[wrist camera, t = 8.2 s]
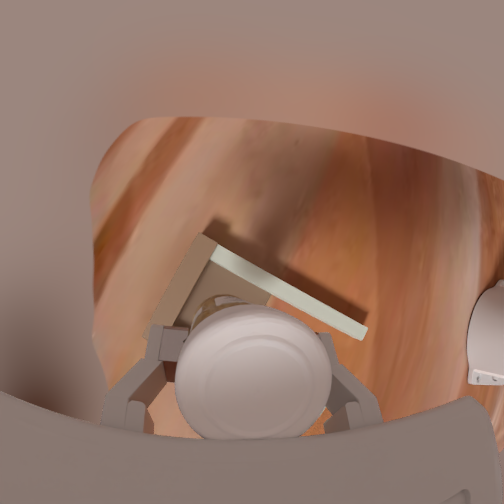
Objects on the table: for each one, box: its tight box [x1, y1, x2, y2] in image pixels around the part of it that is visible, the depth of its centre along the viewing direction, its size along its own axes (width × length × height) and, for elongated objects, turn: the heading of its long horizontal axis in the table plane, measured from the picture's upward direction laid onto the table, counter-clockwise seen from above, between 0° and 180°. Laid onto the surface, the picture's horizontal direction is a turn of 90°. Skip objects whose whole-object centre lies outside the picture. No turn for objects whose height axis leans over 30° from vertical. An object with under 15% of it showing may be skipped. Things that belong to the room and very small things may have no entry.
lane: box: [142, 233, 368, 417], centre depth 27 cm, size 20×11×2 cm, turn 62°
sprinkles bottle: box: [175, 294, 332, 440], centre depth 14 cm, size 5×5×14 cm
